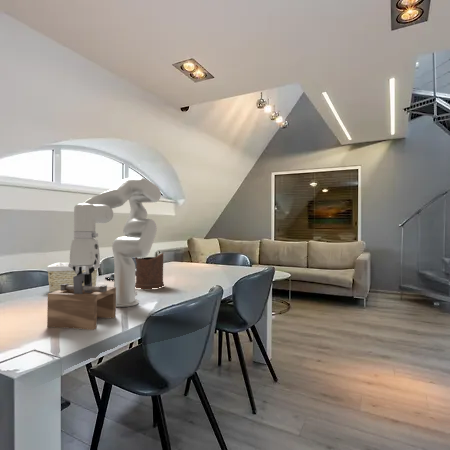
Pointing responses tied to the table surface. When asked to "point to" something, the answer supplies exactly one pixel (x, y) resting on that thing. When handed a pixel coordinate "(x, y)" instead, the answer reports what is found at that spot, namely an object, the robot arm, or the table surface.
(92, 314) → the stand
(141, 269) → the brown woven bin
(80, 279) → the grey piece
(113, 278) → the camera
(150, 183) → the robot arm
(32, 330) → the table surface
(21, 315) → the table surface
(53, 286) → the storage basket
